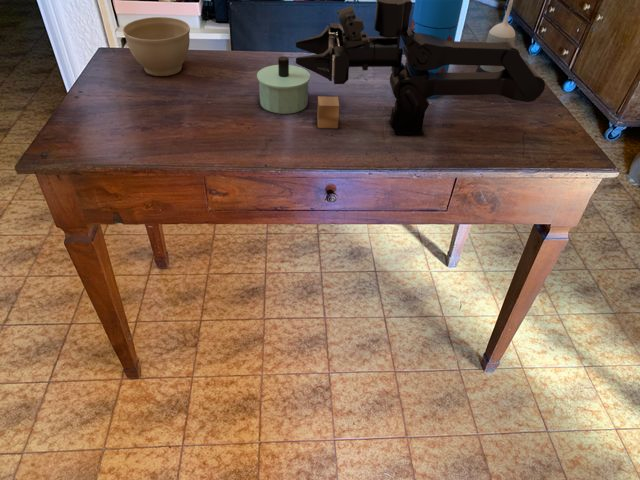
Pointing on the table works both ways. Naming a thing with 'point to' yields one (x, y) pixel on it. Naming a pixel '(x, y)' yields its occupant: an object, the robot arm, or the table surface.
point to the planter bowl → (158, 44)
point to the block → (327, 112)
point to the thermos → (437, 21)
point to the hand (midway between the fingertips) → (295, 52)
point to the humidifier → (499, 38)
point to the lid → (283, 75)
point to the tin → (283, 99)
